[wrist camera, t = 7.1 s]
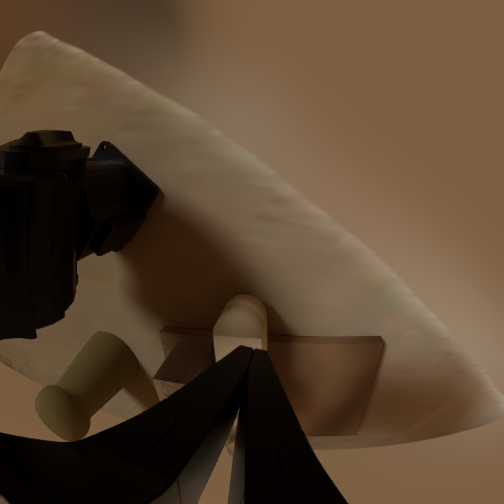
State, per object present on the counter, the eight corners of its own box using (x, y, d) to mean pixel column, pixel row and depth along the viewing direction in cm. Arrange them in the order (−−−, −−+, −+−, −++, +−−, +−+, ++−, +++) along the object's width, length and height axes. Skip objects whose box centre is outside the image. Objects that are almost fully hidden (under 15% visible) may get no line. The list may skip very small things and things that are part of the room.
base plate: (185, 415, 26) (182, 422, 25) (164, 325, 23) (159, 332, 22) (355, 427, 24) (356, 434, 23) (380, 335, 20) (383, 343, 19)
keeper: (274, 416, 24) (267, 465, 19) (199, 409, 26) (181, 453, 20) (272, 339, 22) (262, 391, 16) (182, 334, 23) (152, 378, 17)
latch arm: (274, 432, 23) (271, 456, 20) (229, 427, 24) (222, 450, 21) (277, 295, 19) (272, 317, 16) (213, 292, 20) (199, 313, 17)
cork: (81, 333, 26) (15, 393, 15) (120, 328, 24) (47, 402, 14) (108, 379, 27) (54, 444, 17) (148, 378, 26) (94, 458, 15)
